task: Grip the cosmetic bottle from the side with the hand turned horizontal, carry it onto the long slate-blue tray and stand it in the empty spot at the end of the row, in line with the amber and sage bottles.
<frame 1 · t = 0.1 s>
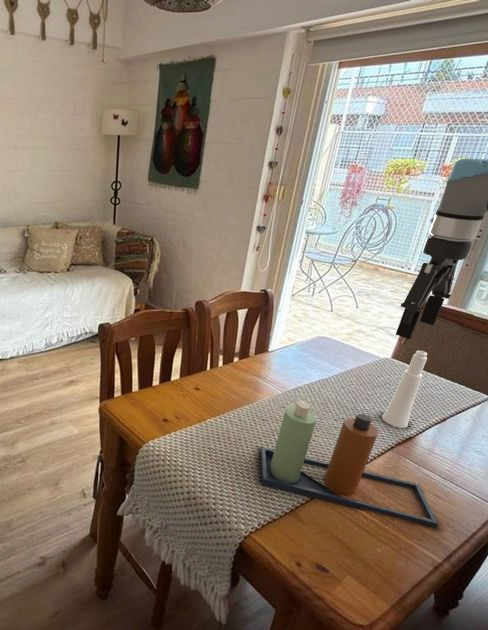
hand: (415, 329, 100), 31 cm above the table, tool pointing down, fingers open, 13 cm apart
amber bottle: (339, 486, 95), point 1 cm above the table, touching tray
sage bottle: (283, 473, 98), point 1 cm above the table, touching tray
tray: (338, 489, 95), on the table
cosmetic bottle: (393, 425, 117), on the table
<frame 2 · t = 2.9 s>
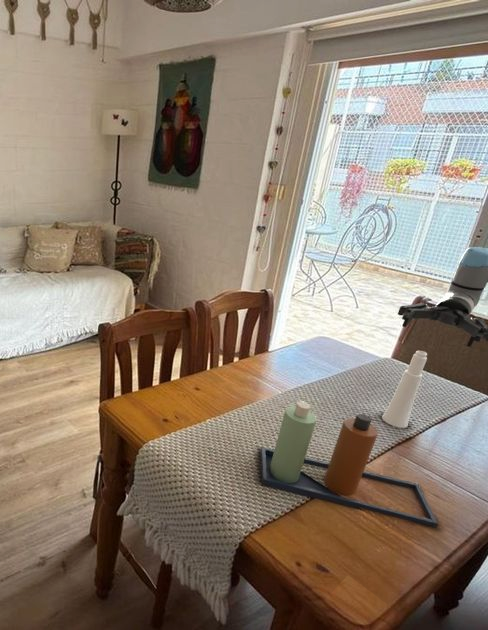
hand: (436, 331, 112), 25 cm above the table, tool horizontal, fingers open, 13 cm apart
nothing on the table moved.
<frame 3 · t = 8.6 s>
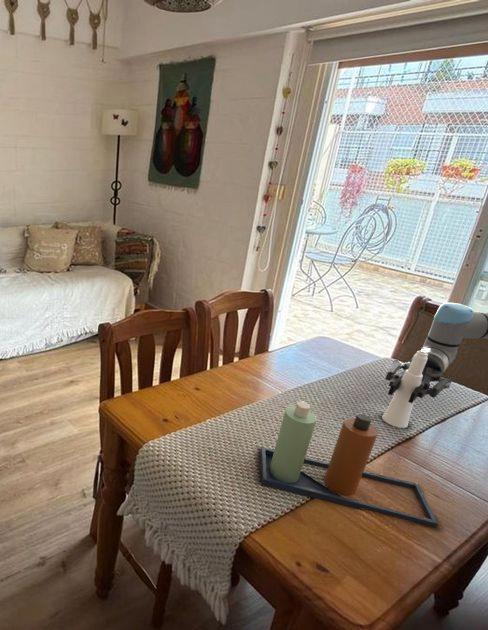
hand: (401, 394, 109), 12 cm above the table, tool horizontal, fingers closed on cosmetic bottle, 4 cm apart
cosmetic bottle: (393, 425, 117), on the table, touching gripper
everything else where it was.
when the fingers open (13 cm above the table, at t = 17.9 s): cosmetic bottle stays where it is, resting on tray.
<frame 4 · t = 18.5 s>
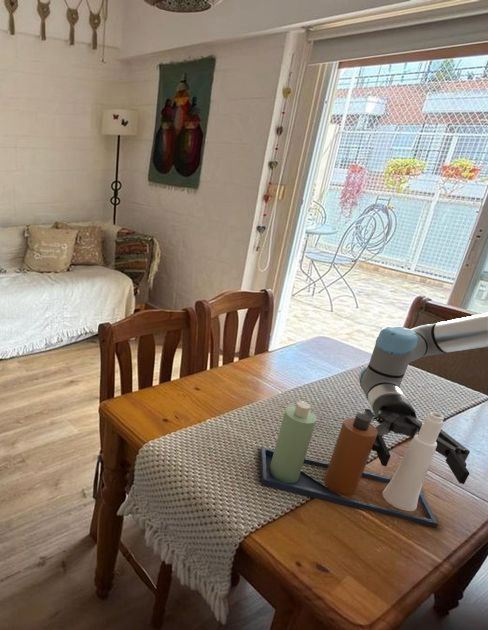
hand: (424, 469, 84), 13 cm above the table, tool horizontal, fingers open, 12 cm apart
amber bottle: (339, 486, 95), point 1 cm above the table, touching gripper, tray
cosmetic bottle: (398, 502, 92), point 1 cm above the table, touching tray
everything else where it was.
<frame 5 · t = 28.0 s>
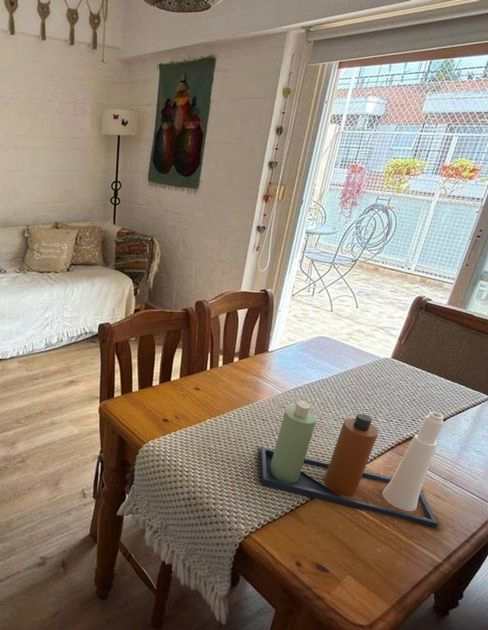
amber bottle: (339, 486, 95), point 1 cm above the table, touching tray
everything else where it was.
at the end: cosmetic bottle 0.1 cm from the target spot in the tray, point 0.6 cm above the tray's base; cosmetic bottle tilted 0°; amber bottle moved 0.0 cm from its start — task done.
